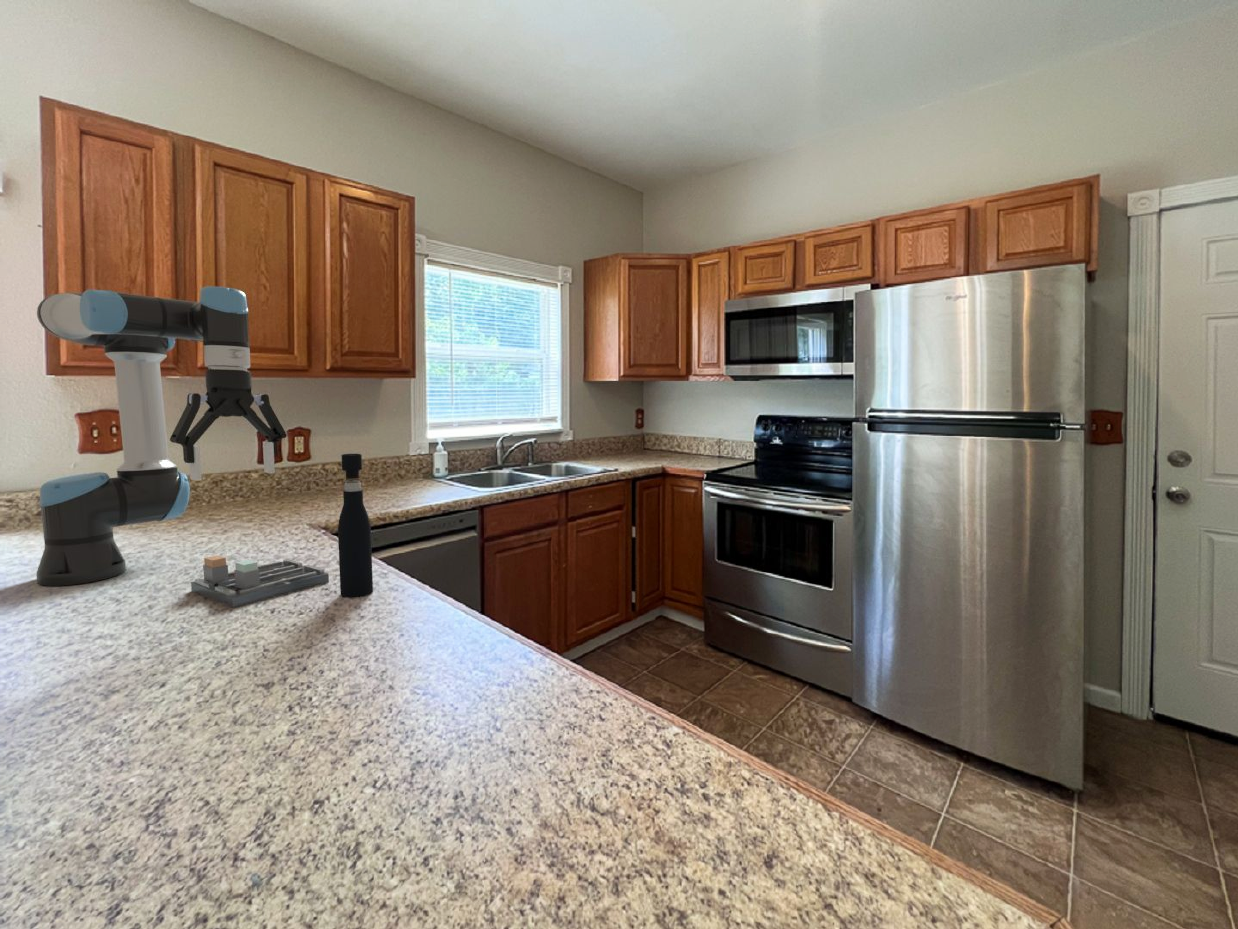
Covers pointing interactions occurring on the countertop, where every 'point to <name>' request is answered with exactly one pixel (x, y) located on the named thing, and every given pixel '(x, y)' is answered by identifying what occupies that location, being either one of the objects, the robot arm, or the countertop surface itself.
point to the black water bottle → (354, 535)
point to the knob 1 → (215, 569)
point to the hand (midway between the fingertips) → (234, 476)
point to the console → (263, 583)
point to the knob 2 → (246, 574)
